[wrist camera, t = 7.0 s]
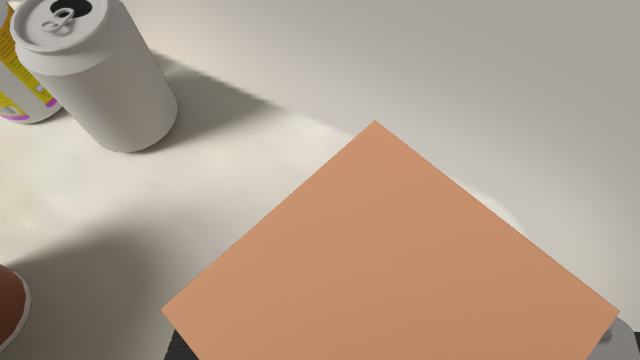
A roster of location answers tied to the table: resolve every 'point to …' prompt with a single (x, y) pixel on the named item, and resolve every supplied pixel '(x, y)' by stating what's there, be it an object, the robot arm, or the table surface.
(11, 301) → the coffee cup
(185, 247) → the table surface
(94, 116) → the can
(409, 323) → the orange rectangular block
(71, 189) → the table surface
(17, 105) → the supplement bottle
